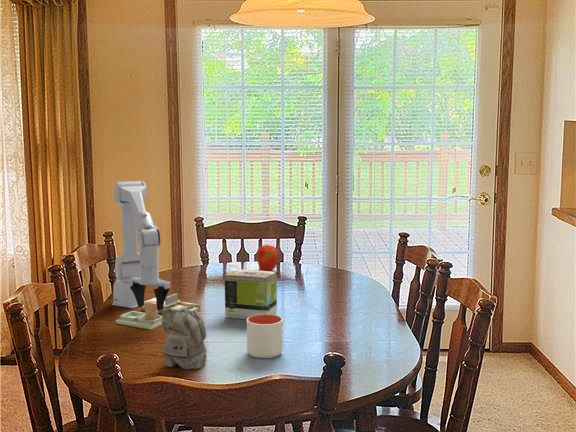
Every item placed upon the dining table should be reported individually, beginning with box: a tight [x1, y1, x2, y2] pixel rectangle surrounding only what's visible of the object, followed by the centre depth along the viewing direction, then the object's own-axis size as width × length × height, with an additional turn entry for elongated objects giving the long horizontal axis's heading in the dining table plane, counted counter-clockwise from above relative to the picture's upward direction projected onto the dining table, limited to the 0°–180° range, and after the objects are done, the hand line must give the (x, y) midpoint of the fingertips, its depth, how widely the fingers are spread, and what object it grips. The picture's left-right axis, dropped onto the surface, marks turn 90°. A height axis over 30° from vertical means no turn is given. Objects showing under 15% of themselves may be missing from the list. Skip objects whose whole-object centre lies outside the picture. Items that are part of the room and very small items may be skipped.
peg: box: [144, 300, 159, 321], centre depth 219 cm, size 4×4×6 cm
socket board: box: [115, 310, 163, 331], centre depth 221 cm, size 14×9×2 cm, turn 63°
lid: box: [144, 293, 181, 308], centre depth 237 cm, size 10×8×3 cm
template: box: [141, 301, 201, 315], centre depth 236 cm, size 17×10×2 cm, turn 63°
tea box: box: [224, 268, 278, 320], centre depth 228 cm, size 15×10×15 cm
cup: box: [246, 314, 284, 359], centre depth 192 cm, size 10×10×10 cm
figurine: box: [161, 308, 208, 370], centre depth 184 cm, size 10×11×15 cm
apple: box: [256, 244, 279, 271], centre depth 294 cm, size 9×9×12 cm
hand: (150, 308), depth 219 cm, fingers open, 7 cm apart
